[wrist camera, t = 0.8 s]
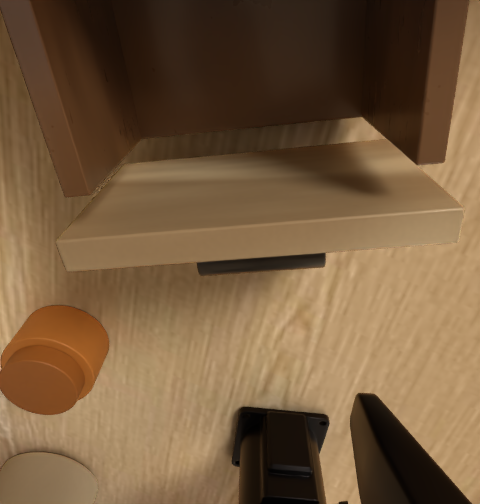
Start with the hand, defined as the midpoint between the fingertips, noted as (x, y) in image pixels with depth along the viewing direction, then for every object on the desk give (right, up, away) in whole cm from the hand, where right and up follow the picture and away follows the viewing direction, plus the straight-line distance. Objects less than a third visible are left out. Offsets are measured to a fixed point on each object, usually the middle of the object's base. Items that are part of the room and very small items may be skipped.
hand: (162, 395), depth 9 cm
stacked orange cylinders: (-9, -2, +17) cm, 19 cm away
